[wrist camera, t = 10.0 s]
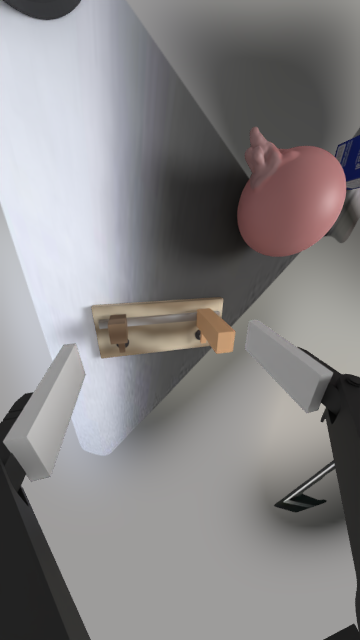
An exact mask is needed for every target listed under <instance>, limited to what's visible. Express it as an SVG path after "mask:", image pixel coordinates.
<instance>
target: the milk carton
mask: <svg viewBox="0 0 360 640" xmlns="http://www.w3.org/2000/svg"><path fill="white" fill-rule="evenodd" d="M335 158H336V159H337V160H338V161H339V163H340V164H341V166H342V168H343V171H344V174H345V178H346V189H348V190H352V189H356V188H360V135H359V136H357V137H355V138H352V139H350V140H348V141H346V142H344V143H342V144H340V145H338V147H337V150H336V154H335Z"/></svg>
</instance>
